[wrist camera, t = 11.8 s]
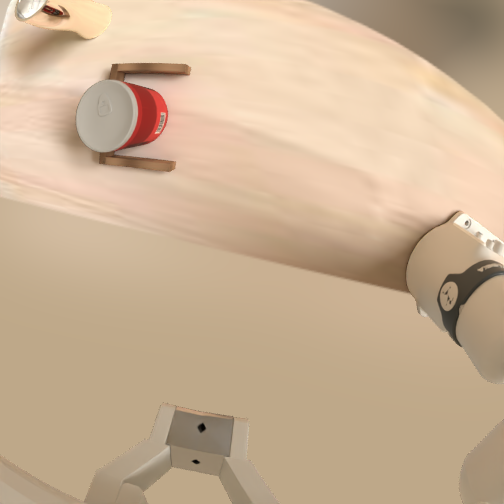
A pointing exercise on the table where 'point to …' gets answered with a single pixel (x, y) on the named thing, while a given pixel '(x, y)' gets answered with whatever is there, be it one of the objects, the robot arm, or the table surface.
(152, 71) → the open wooden square
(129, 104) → the canned food
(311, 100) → the table surface
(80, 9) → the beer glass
